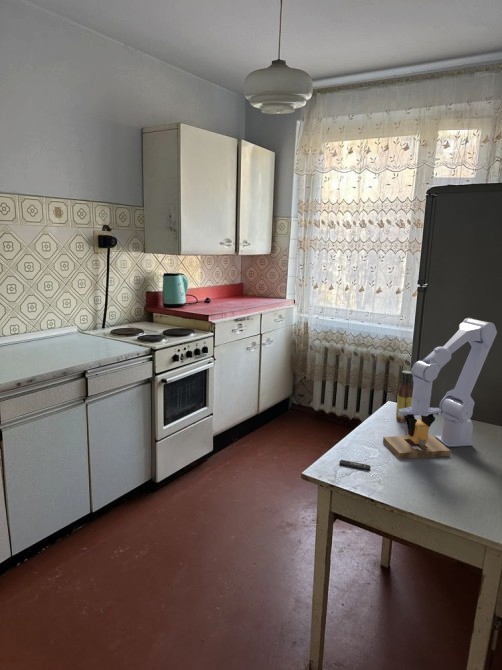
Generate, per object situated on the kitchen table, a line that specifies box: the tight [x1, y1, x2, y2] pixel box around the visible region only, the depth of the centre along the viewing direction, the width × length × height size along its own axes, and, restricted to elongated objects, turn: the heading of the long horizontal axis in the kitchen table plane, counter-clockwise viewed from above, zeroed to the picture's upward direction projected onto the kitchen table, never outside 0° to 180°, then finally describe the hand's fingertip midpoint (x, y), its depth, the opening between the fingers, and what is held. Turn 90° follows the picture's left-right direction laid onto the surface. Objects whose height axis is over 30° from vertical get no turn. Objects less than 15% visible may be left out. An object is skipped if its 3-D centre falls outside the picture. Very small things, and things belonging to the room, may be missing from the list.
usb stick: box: [339, 459, 371, 472], centre depth 143 cm, size 10×3×2 cm, turn 68°
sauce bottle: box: [395, 370, 414, 423], centre depth 179 cm, size 6×6×20 cm
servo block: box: [406, 418, 430, 445], centre depth 155 cm, size 4×9×6 cm, turn 9°
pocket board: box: [382, 434, 451, 460], centre depth 156 cm, size 18×12×2 cm, turn 99°
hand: (416, 435), depth 155 cm, fingers closed on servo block, 4 cm apart
